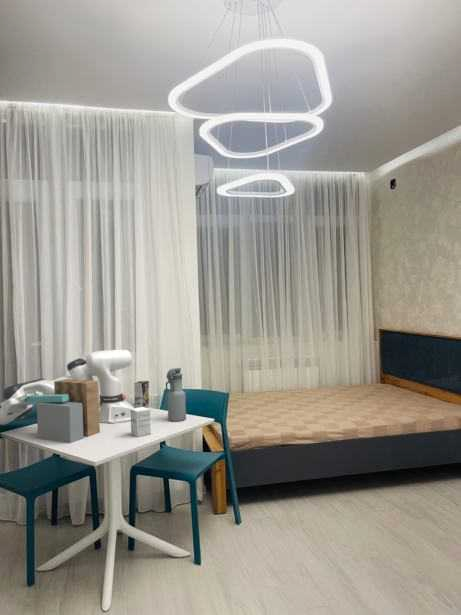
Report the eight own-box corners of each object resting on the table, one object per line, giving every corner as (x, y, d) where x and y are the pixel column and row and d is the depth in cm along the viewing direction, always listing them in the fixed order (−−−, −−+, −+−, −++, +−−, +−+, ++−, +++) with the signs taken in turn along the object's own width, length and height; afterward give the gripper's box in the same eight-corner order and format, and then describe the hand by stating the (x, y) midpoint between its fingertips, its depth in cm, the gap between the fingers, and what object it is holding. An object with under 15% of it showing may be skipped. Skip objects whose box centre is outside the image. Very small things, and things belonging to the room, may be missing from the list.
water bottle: (176, 423, 245) (175, 370, 245) (163, 420, 251) (162, 369, 251) (189, 418, 253) (188, 368, 253) (176, 416, 259) (175, 367, 259)
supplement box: (130, 434, 225) (129, 408, 225) (144, 431, 229) (143, 406, 229) (137, 437, 219) (136, 411, 219) (151, 434, 223) (150, 408, 223)
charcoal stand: (37, 438, 224) (36, 403, 224) (51, 433, 231) (50, 400, 231) (70, 443, 213) (69, 406, 213) (83, 438, 220) (82, 403, 221)
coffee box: (144, 409, 281) (143, 383, 281) (134, 409, 283) (133, 383, 283) (149, 406, 290) (149, 380, 290) (140, 406, 292) (139, 380, 292)
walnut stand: (55, 432, 233) (54, 381, 233) (68, 428, 240) (66, 379, 240) (88, 436, 223) (86, 383, 223) (99, 432, 230) (98, 380, 230)
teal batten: (21, 402, 231) (21, 396, 231) (28, 401, 235) (28, 395, 235) (62, 402, 219) (61, 395, 219) (68, 400, 223) (68, 394, 223)
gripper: (36, 407, 244) (52, 395, 239) (1, 415, 226) (17, 403, 221) (32, 396, 246) (47, 384, 240) (-3, 404, 228) (13, 391, 222)
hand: (32, 393), depth 230 cm, fingers closed on teal batten, 4 cm apart
